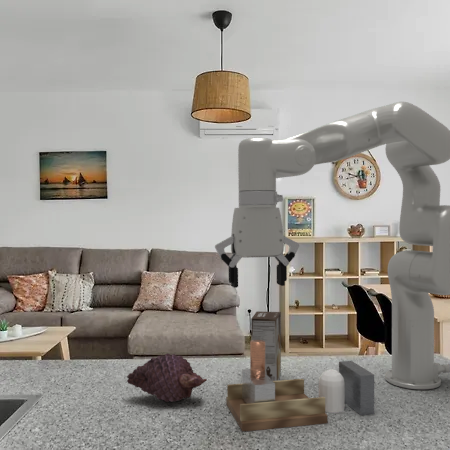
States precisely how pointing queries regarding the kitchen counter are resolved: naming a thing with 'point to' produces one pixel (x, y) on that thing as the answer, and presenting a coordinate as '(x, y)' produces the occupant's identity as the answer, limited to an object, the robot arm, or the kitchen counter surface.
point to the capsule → (332, 391)
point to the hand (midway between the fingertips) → (257, 285)
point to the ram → (257, 377)
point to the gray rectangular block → (358, 387)
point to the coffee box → (269, 340)
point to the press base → (277, 407)
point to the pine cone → (166, 378)
